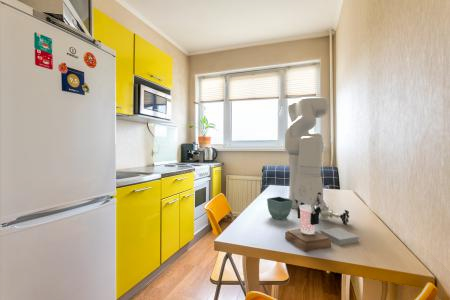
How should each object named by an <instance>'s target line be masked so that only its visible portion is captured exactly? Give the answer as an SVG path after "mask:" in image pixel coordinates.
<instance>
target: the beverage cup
mask: <svg viewBox="0 0 450 300" xmlns="http://www.w3.org/2000/svg"><path fill="white" fill-rule="evenodd" d="M299 209H300V219H299V221H300V229H301V232H302V233H305V234H314V230H315V229H316V225H311V224H310V219H311V213H312V209H311V205H300V206H299ZM315 209H316V206H315ZM315 231H316V230H315Z"/></svg>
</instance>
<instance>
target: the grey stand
mask: <svg viewBox="0 0 450 300" xmlns="http://www.w3.org/2000/svg"><path fill="white" fill-rule="evenodd" d="M320 233H321V234H323V235H324V236H326V237H328V238H329V239H330V240H331V242H333V243H335V244H336V245H339V246H343V245H349V243H350V244H354V242H355V243H359V240H360V239H359V236H358V235H356V234H353V233H352V232H349V231H347V230H345V229H343V228H341V227H333V228H325V229H320Z"/></svg>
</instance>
